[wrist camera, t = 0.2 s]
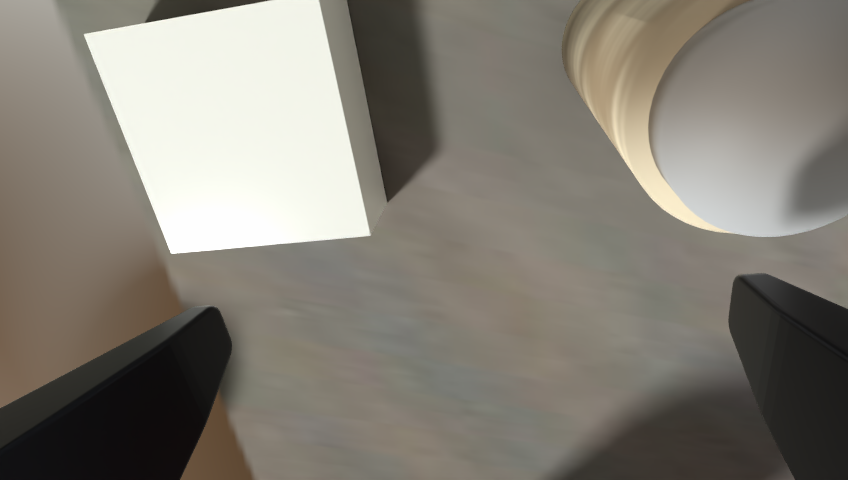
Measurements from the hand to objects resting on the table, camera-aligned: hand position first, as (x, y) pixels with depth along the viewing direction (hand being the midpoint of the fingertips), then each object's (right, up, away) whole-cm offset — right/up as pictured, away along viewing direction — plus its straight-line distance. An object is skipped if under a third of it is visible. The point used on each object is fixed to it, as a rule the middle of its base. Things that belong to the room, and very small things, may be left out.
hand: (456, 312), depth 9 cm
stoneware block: (-7, +7, +14) cm, 17 cm away
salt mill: (+7, +9, +11) cm, 16 cm away
